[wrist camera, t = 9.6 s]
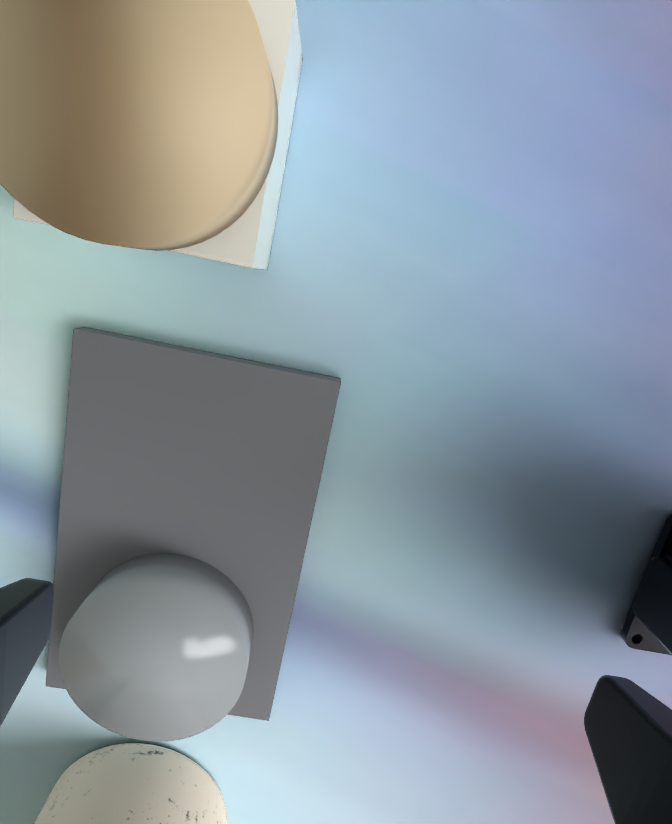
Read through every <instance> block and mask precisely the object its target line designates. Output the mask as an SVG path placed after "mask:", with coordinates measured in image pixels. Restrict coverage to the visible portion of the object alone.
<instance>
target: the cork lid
mask: <svg viewBox="0 0 672 824" xmlns="http://www.w3.org/2000/svg"><path fill="white" fill-rule="evenodd" d="M277 135H278V103H277V96H276V90H275V85H274V80H273V76H272V73H271V69H270V66H269V62H268V59H267V55H266V52H265V48H264V45H263V41H262V38H261V34H260V31H259V28H258V24H257V21H256V18H255V15H254V13H253V10H252V8H251V6H250V3H249V1H248V0H0V184H1V185H2V186H3V187H4V188H5V189H6V190H7V191H8V192H9V194H10V195H11V196H12V197H13V198H15V199H16V200H17V201H18V202H19V203H20V204H21V205H23V206H24V207H25V208H26V209H27V210H28V211H30V212H31V213H33V214H34V215H36V216H37V217H39V218H40V219H42V220H43V221H44V222H46V223H48V224H50V225H52V226H54V227H55V228H57V229H59V230H61V231H63V232H65V233H68V234H71V235H73V236H76V237H79V238H81V239H84V240H88V241H93V242H97V243H101V244H107V245H115V246H122V247H129V248H137V249H146V250H156V251H157V250H174V249H180V248H186V247H190V246H193V245H196V244H199V243H202V242H204V241H206V240H208V239H210V238H212V237H214V236H216V235H218V234H219V233H221V232H222V231H224V230H225V229H227V228H228V227H230V226H231V225H232V224H233V223H234V222H235V221H236V220H237V219H239V218H240V217H241V216H242V215H243V214H244V212H245V211H246V210H247V209H248V208H249V206H250V205H251V204H252V203H253V201H254V200H255V198H256V196H257V195H258V193H259V192H260V190H261V188H262V186H263V184H264V182H265V180H266V178H267V175H268V173H269V170H270V167H271V164H272V161H273V158H274V154H275V148H276V143H277Z"/></svg>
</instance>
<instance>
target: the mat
mask: <svg viewBox="0 0 672 824" xmlns="http://www.w3.org/2000/svg"><path fill="white" fill-rule="evenodd" d="M340 384H341V380H340V378H336V377H331V376H326V375H321V374H316V373H311V372H306V371H301V370H296V369H291V368H286V367H281V366H276V365H271V364H266V363H261V362H256V361H251V360H246V359H241V358H236V357H231V356H226V355H221V354H216V353H211V352H206V351H201V350H196V349H191V348H186V347H181V346H176V345H171V344H166V343H161V342H156V341H151V340H146V339H141V338H136V337H131V336H126V335H121V334H116V333H111V332H106V331H101V330H96V329H91V328H86V327H81V328H76V329H74V331H73V343H72V356H71V369H70V382H69V394H68V407H67V420H66V432H65V445H64V458H63V471H62V483H61V496H60V509H59V522H58V534H57V547H56V560H55V572H54V585H53V586H54V601H53V614H52V626H51V632H50V636H49V649H48V661H47V674H46V686H49V687H55V688H62V689H66V687H65V685H64V683H63V680H62V677H61V674H60V668H59V647H60V641H61V638H62V635H63V632H64V630H65V628H66V626H67V624H68V622H69V621H70V619H71V618H72V617H73V615H74V614H75V613H76V611H77V610H78V609H79V607H80V606H81V605H82V603H83V602H84V601H85V599H86V598H87V596H88V595H89V594H90V592H91V591H92V590H93V588H94V587H95V586H96V584H97V583H98V582H99V581H100V580H101V579H102V578H103V576H104V575H105V574H107V573H108V572H109V571H110V570H112V569H113V568H114V567H116V566H118V565H119V564H121V563H123V562H125V561H128V560H130V559H132V558H135V557H139V556H143V555H148V554H155V553H170V554H180V555H184V556H189V557H192V558H195V559H198V560H201V561H203V562H205V563H207V564H209V565H211V566H213V567H215V568H216V569H218V570H219V571H221V572H222V573H223V574H225V575H226V576H227V577H228V578H230V580H231V581H232V582H233V583H234V584H235V585H236V586H237V587H238V588H239V590H240V591H241V593H242V594H243V596H244V597H245V599H246V601H247V603H248V605H249V608H250V611H251V614H252V619H253V627H254V634H253V643H252V648H251V653H250V658H249V663H248V669H247V674H246V679H245V683H244V687H243V690H242V692H241V694H240V697H239V699H238V700H237V702H236V704H235V705H234V707H233V708H232V709H231V710H230V712H229V713H228V715H235V716H241V717H248V718H254V719H261V720H267V721H269V718H270V713H271V708H272V703H273V699H274V694H275V689H276V685H277V680H278V675H279V671H280V666H281V661H282V656H283V652H284V647H285V642H286V638H287V633H288V628H289V624H290V619H291V614H292V610H293V605H294V600H295V595H296V591H297V586H298V581H299V577H300V572H301V567H302V563H303V558H304V553H305V549H306V544H307V539H308V534H309V530H310V525H311V520H312V516H313V511H314V506H315V502H316V497H317V492H318V487H319V483H320V478H321V473H322V469H323V464H324V459H325V455H326V450H327V445H328V441H329V436H330V431H331V426H332V422H333V417H334V412H335V408H336V403H337V398H338V394H339V389H340Z"/></svg>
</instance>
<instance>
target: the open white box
mask: <svg viewBox="0 0 672 824" xmlns="http://www.w3.org/2000/svg"><path fill="white" fill-rule="evenodd" d="M248 1H249V3H250V6H251V8H252V10H253V13H254V15H255V18H256V21H257V24H258V28H259V31H260V34H261V38H262V41H263V45H264V48H265V52H266V55H267V59H268V62H269V66H270V69H271V73H272V76H273V80H274V85H275V90H276V96H277V103H278V135H277V143H276V148H275V154H274V158H273V161H272V164H271V167H270V170H269V173H268V175H267V178H266V180H265V182H264V184H263V186H262V188H261V190H260V192H259V193H258V195H257V196H256V198H255V200H254V201H253V203H252V204H251V205H250V206H249V208H248V209H247V210H246V211H245V212H244V214H243V215H242V216H241V217H240V218H239V219H237V220H236V221H235V222H234V223H233V224H232V225H231V226H230V227H228V228H227V229H225V230H224V231H222V232H221V233H219V234H218V235H216V236H214V237H212V238H210V239H208V240H206V241H204V242H202V243H199V244H196V245H193V246H190V247H186V248H180V249H174V250H169V251H174V252H178V253H183V254H188V255H192V256H197V257H202V258H207V259H211V260H216V261H221V262H225V263H230V264H235V265H239V266H244V267H249V268H255V269H268V264H269V258H270V253H271V247H272V241H273V235H274V229H275V223H276V217H277V211H278V205H279V199H280V193H281V187H282V181H283V175H284V169H285V163H286V157H287V151H288V145H289V139H290V133H291V127H292V121H293V115H294V109H295V103H296V97H297V91H298V85H299V79H300V73H301V67H302V61H303V58H302V50H301V41H300V33H299V25H298V17H297V8H296V0H248ZM13 217H14V218H18V219H23V220H28V221H32V222H37V223H42V224H47V225H50V224H48V223H46V222H44V221H43V220H42V219H40V218H39V217H37V216H36V215H34V214H33V213H31V212H30V211H28V210H27V209H26V208H25V207H24V206H23V205H21V204H20V203H19V202H18V201H17V200H16V199H15V198H14V210H13ZM51 226H52V225H51Z"/></svg>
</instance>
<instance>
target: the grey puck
mask: <svg viewBox="0 0 672 824" xmlns="http://www.w3.org/2000/svg"><path fill="white" fill-rule="evenodd" d="M253 634H254V627H253V619H252V614H251V611H250V608H249V605H248V603H247V601H246V599H245V597H244V596H243V594H242V593H241V591H240V590H239V588H238V587H237V586H236V585H235V584H234V583H233V582H232V581H231V580H230V578H228V577H227V576H226V575H225V574H223V573H222V572H221V571H219V570H218V569H216V568H215V567H213V566H211V565H209V564H207V563H205V562H203V561H201V560H198V559H195V558H192V557H189V556H184V555H180V554H170V553H155V554H148V555H143V556H139V557H135V558H132V559H130V560H128V561H125V562H123V563H121V564H119V565H118V566H116V567H114V568H113V569H112V570H110V571H109V572H108V573H107V574H105V575H104V576H103V578H102V579H101V580H100V581H99V582H98V583H97V584H96V586H95V587H94V588H93V590H92V591H91V592H90V594H89V595H88V596H87V598H86V599H85V601H84V602H83V603H82V605H81V606H80V607H79V609H78V610H77V611H76V613H75V614H74V615H73V617H72V618H71V619H70V621H69V622H68V624H67V626H66V628H65V630H64V632H63V635H62V638H61V641H60V647H59V668H60V674H61V677H62V680H63V683H64V685H65V687H66V689H67V691H68V693H69V695H70V696H71V698H72V699H73V701H74V702H75V704H76V705H77V706H78V707H79V708H80V709H81V710H82V711H83V712H84V713H85V714H86V715H87V716H88V717H89V718H90V719H92V720H93V721H95V722H96V723H98V724H99V725H101V726H102V727H104V728H106V729H108V730H110V731H112V732H114V733H117V734H119V735H122V736H125V737H129V738H132V739H138V740H143V741H155V742H159V741H173V740H180V739H184V738H187V737H191V736H194V735H196V734H199V733H201V732H203V731H205V730H207V729H209V728H211V727H212V726H214V725H215V724H216V723H218V722H219V721H220V720H222V719H223V718H224V717H225V716H226V715H227V714H228V713H229V712H230V710H231V709H232V708H233V707H234V705H235V704H236V702H237V700H238V699H239V697H240V694H241V692H242V690H243V687H244V683H245V679H246V674H247V669H248V663H249V658H250V653H251V648H252V643H253Z"/></svg>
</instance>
